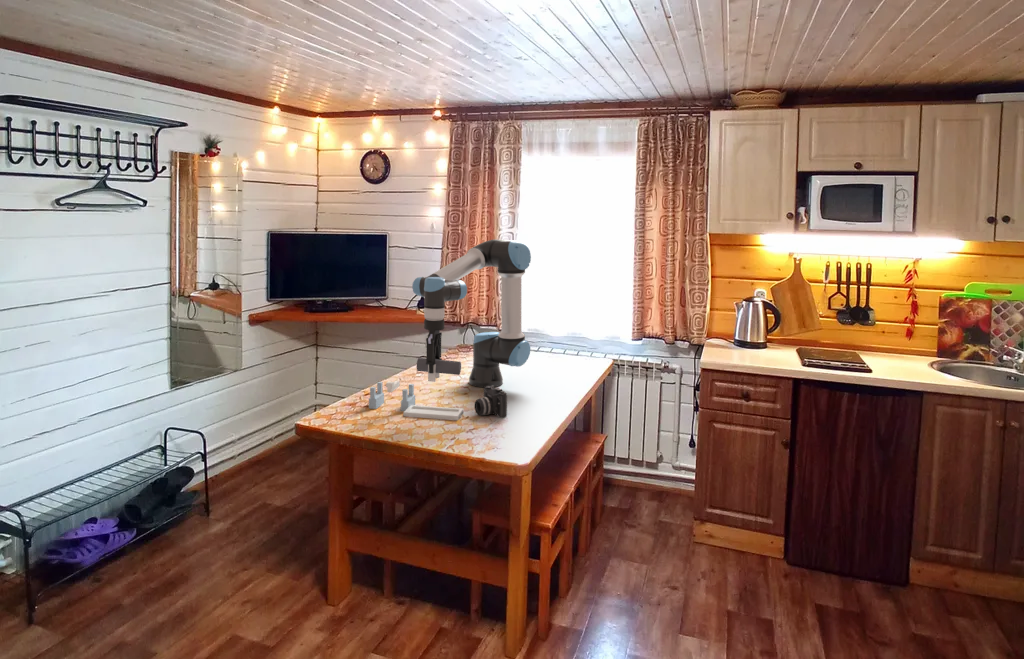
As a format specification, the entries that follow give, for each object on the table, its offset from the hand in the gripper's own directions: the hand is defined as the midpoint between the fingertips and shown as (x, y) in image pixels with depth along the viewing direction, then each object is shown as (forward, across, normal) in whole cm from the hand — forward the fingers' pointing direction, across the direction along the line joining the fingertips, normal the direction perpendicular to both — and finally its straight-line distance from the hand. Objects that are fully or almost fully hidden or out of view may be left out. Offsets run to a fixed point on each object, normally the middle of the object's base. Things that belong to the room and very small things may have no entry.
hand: (433, 379), depth 263 cm
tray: (+14, 0, 0) cm, 14 cm away
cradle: (+14, -6, -18) cm, 24 cm away
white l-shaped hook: (+5, +1, -15) cm, 16 cm away
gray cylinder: (-3, 0, +2) cm, 3 cm away
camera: (+14, -6, +20) cm, 26 cm away
